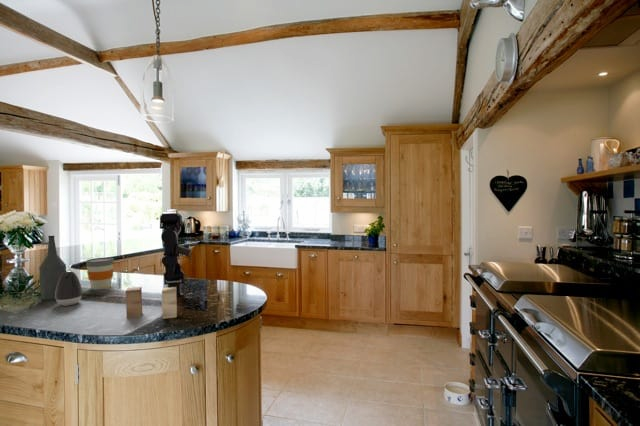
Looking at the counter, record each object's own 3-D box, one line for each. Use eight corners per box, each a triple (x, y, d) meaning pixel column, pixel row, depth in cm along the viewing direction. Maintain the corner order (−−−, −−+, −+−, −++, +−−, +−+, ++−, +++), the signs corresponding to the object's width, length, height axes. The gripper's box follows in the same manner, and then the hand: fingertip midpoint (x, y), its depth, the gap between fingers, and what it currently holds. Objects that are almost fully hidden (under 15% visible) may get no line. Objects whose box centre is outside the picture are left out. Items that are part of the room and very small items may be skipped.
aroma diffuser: (53, 309, 154) (51, 274, 153) (57, 302, 163) (56, 270, 163) (81, 305, 159) (79, 271, 158) (84, 299, 168) (82, 267, 167)
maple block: (163, 314, 145) (162, 288, 145) (177, 313, 147) (176, 286, 146) (162, 318, 141) (161, 291, 140) (176, 317, 142) (175, 290, 142)
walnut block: (128, 314, 146) (127, 287, 146) (142, 312, 148) (141, 286, 148) (126, 318, 142) (125, 290, 141) (140, 316, 143) (139, 289, 143)
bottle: (43, 301, 165) (39, 237, 164) (38, 297, 172) (35, 235, 171) (69, 296, 173) (66, 235, 172) (64, 293, 180) (61, 233, 178)
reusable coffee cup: (115, 287, 189) (114, 259, 188) (87, 291, 182) (86, 262, 181) (113, 283, 199) (112, 256, 199) (87, 286, 192) (85, 259, 192)
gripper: (189, 242, 151) (190, 278, 152) (190, 237, 169) (191, 270, 169) (161, 243, 147) (162, 281, 148) (164, 238, 165) (165, 272, 166)
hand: (171, 275), depth 158 cm, fingers open, 6 cm apart
